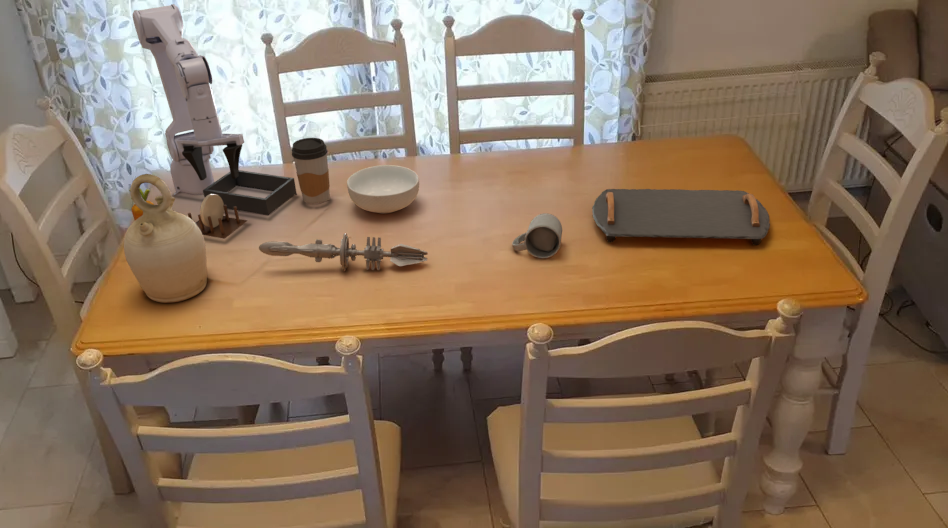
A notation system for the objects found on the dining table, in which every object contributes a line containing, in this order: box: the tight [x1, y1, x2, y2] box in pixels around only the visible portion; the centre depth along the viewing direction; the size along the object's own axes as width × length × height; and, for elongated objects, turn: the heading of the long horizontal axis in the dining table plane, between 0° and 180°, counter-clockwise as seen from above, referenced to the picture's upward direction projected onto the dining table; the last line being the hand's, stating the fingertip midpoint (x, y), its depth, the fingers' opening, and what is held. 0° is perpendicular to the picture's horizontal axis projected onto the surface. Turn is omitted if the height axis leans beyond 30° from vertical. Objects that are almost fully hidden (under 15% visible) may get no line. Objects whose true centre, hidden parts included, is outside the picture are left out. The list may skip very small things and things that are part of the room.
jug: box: [123, 173, 208, 304], centre depth 168 cm, size 15×16×25 cm
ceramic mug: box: [511, 212, 563, 259], centre depth 181 cm, size 11×8×8 cm
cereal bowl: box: [346, 164, 420, 215], centre depth 200 cm, size 17×17×7 cm
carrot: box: [128, 188, 155, 221], centre depth 184 cm, size 5×5×15 cm
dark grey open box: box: [203, 169, 298, 216], centre depth 205 cm, size 18×13×5 cm
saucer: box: [199, 194, 225, 228], centre depth 192 cm, size 1×8×8 cm, turn 159°
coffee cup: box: [291, 137, 331, 205], centre depth 201 cm, size 8×8×15 cm
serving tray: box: [591, 188, 771, 246], centre depth 189 cm, size 39×23×6 cm, turn 84°
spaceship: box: [258, 232, 428, 272], centre depth 176 cm, size 8×35×8 cm
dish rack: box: [187, 205, 248, 240], centre depth 194 cm, size 11×9×5 cm
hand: (219, 178), depth 187 cm, fingers open, 7 cm apart
